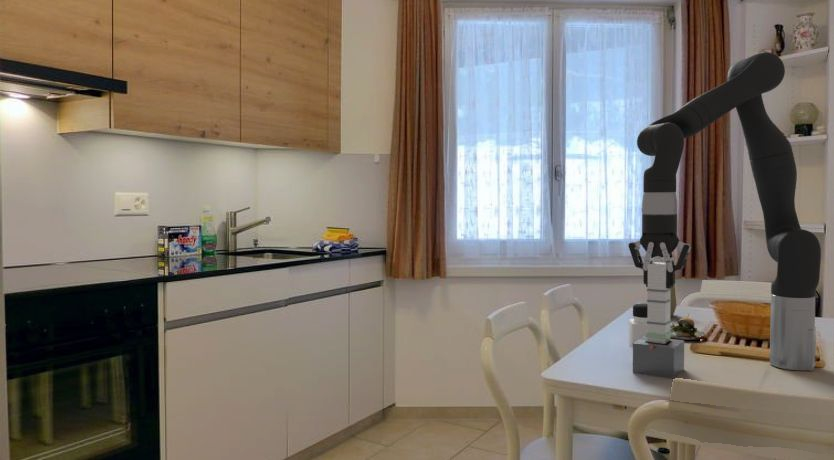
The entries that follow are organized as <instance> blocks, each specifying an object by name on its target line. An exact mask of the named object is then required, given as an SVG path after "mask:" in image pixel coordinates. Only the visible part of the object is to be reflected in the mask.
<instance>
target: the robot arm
mask: <svg viewBox="0 0 834 460" xmlns="http://www.w3.org/2000/svg"><path fill="white" fill-rule="evenodd" d="M785 74H786V68H785V64H784V62H783V60H782V59H781V57H779V56H778V55H777V54H775V53H772V52H759V53H757V54H754V55H751V56H749V57H746V58H744V59H741V60H739V61H736V62H734V63H733V64H732V65H731V66H730V68H729V69H728V72H727V81H726V82H723V83H722V84H720V85H718V86H716V87H714V88H711V89H710V90H708V91H706V92H704V93H702V94H700V95H699V96H696V97H695V98H693V99H691V100H690V101H688V102H687V103H685V104H684V105H682V106H681V107H679V108H678V109H677V110H675V111H673V112H672V113H670V114H668V115H666V116H664V117H661V118H659V119H657V120H655V121H654V122H652V123H650V124H647V125H646V126H645V127H643V128H642V130H641V131H639V134H638V136H637V139H636V145H637V148H638V150H639V151H640V153H642V154H643V155H645V156H649V157H654V160H653V164H652V165H651V166H648V167H647V168H646V169H644V172H643V177H642V178H643V179H642V180H643V191H642V192H643V193H642V194H643V195H642V203H641V237H640V239H639V240H637V241H632V242H629V243H628V249H629V251H630V255H631V257H632V261H633V265H634V266H635V268H636V269H638V268H639V269H640V270H642V272H643V279H642V280H643V284H644V285H645V287H646V288H648V264H649V263H652V262H654V260H655V257H660V258H663V261H664V263H666V264H667V270H668V272H667V288H669V289H671V288H672V286H674V285H675V284H676V272H677V271H680V270H682V269H684V268H685V265H686V263H687V261H688V258H689V255H690V252H691V249H692V246H693V245H692V244H691V243H685V242H682V241H680V239H679V238H678V197H677V173H678V170H679V166H680V163H681V159H682V155H683V152H684V146H685V139H688V138H691V137H693V136H695V135H697V134H698V133H700V132H701V131H703V130H704V129H706V128H708V127H710V125H712V124H713V123H714V122H716V121H717V120H719V119H721V117H724V115H726V114H728V113H729V112H731V111H732V110H734V109H735V110H736V112H737V115H738V118H739V120H740V124H741V128H742V133H743V136H744V141H745V144H746V148H747V153H748V160H749V163H750V164H749V165H750V168H751V171H752V172H751V173H752V177H753V179H754V183H755V187H756V191H757V195H758V196H757V197H758V199H759V202H760V203H759V204H760V206H761V210H762V215H763V224H764V233H765V240H766V243H765V244H766V249H767V251H768V252H767V253H768V254H769V256H770V258H771V259H772V260H774V261H775V262H776V263H777V271H776V277H775V279H774V281H772V282H771V284H770V326H769V327H770V333H769V364H770V365H771V366H773V367H775V368H780V369H784V370H790V371H811V372H812V371H814V369H815V367H816V338H817V337H816V332H817V331H816V330H817V329H816V328H817V327H816V326H815V325H816V291H817V287H818V286H819V283H820V278H821V276H820V275H821V274H820V273H821V261H822V259H821V258H822V253H821V252H822V250H821V249H822V248H821V244H820V241H819V239H818V237H817V236H816V235H815V234H814V233H812V231H809V230H807V229H803V228H802V227H801V225H800V222H799V219H798V218H799V217H798V215H797V211H796V204H795V200H796V199H795V197H796V188H797V180H798V178H797V176H798V175H797V174H798V173H797V164H796V161H795V157H794V153H793V152H794V151H793V147H792V144H791V142H790V140H789V139H788V138H787V136H786V135H785V134H784V133H783V131H781V129H780V128H779V127H778V126H777V125H776V124H775V123H774V122H773V120H772V119H771V118H770V116H769V114H768V113H767V111H766V107H765V104H764V101H763V100H764V99H763V96H762V94H765V93H768V92H771V91H773V90H774V89H776V88H777V87H779V85H780V84H782V82H783V79H784V78H785ZM641 247H642V248H643V249H644V251H645V256H644V261H643V259H642V256H641V253H640V250H641ZM677 247H678V251H679V253H680V254H679V258H678V259H677V262H676V263H675V258H674V253H673V252H674V251H675V250H676V249H677ZM675 286H676V285H675Z"/></svg>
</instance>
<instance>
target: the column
mask: <svg viewBox="0 0 834 460" xmlns="http://www.w3.org/2000/svg"><path fill="white" fill-rule="evenodd" d="M667 272H668V270H667V264H666V263H665V262H661V261H660V262H657V261H653V262H652V263H649V264H648V287H647V288H646V291H647V299H646V302H647V303H648V312H647V336H646V338H647V342H653V343H661V344H666V343H668V342H669V341H670V339H671V338H672V337H671V331H670V329H671V328H670V326H671V322H672V320H671V316H670V301H671V289H669V288H667Z"/></svg>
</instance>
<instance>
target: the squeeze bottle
mask: <svg viewBox="0 0 834 460" xmlns="http://www.w3.org/2000/svg"><path fill="white" fill-rule="evenodd" d="M675 286H676V285H674V286H672V288H671V301H670V317H673V316H674V315H675V312H676V308H677V306H678V305H677V296H676V287H675Z"/></svg>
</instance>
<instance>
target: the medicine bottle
mask: <svg viewBox="0 0 834 460" xmlns="http://www.w3.org/2000/svg"><path fill="white" fill-rule="evenodd" d="M647 312H648V302H647V303H646V302H637V303H635V304H633V305H632V318H630V319H628V320H629V322H628V326H629V328H628V331H629V332H628V335H629V337H628V341H629V342H628V344H629V346H630V347H631V348H633V343H634V342H636V341H637V340H639V339H641V338H642V337H644V336H647Z"/></svg>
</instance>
